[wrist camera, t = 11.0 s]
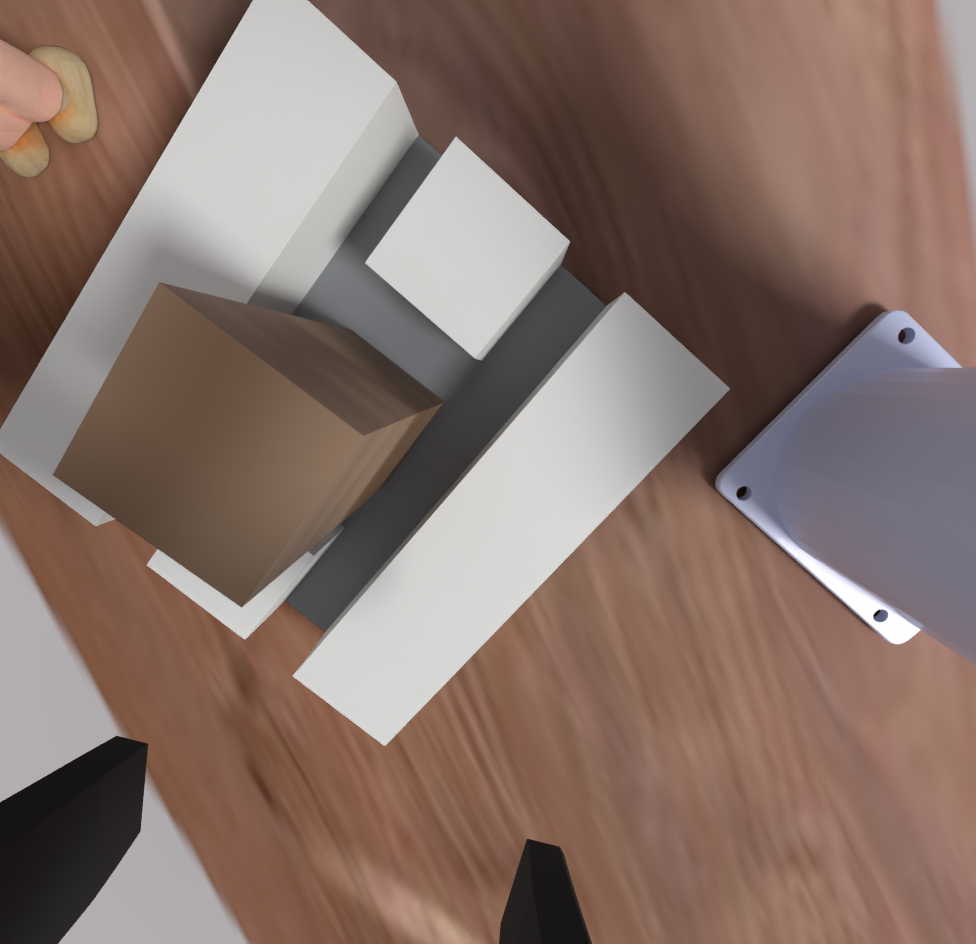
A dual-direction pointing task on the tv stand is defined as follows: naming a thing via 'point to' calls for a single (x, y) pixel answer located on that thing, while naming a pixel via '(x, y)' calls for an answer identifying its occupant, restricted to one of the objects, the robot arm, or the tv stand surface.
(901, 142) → the tv stand surface
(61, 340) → the socket block
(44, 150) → the grandmother figurine
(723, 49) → the tv stand surface
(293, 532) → the walnut pin
